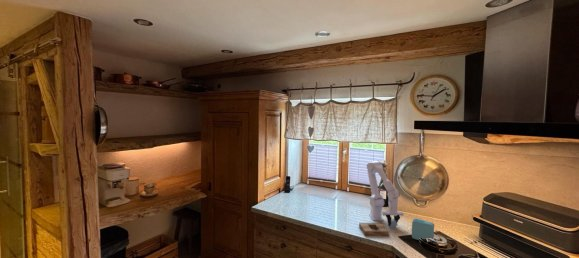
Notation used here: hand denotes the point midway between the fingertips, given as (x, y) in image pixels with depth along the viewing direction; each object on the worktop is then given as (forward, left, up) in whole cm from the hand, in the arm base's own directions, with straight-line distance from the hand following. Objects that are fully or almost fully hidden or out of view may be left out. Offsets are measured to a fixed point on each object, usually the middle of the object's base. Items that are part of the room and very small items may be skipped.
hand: (392, 225), depth 165 cm
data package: (+16, +12, -2) cm, 20 cm away
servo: (0, 0, -1) cm, 1 cm away
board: (+6, -16, -1) cm, 17 cm away
